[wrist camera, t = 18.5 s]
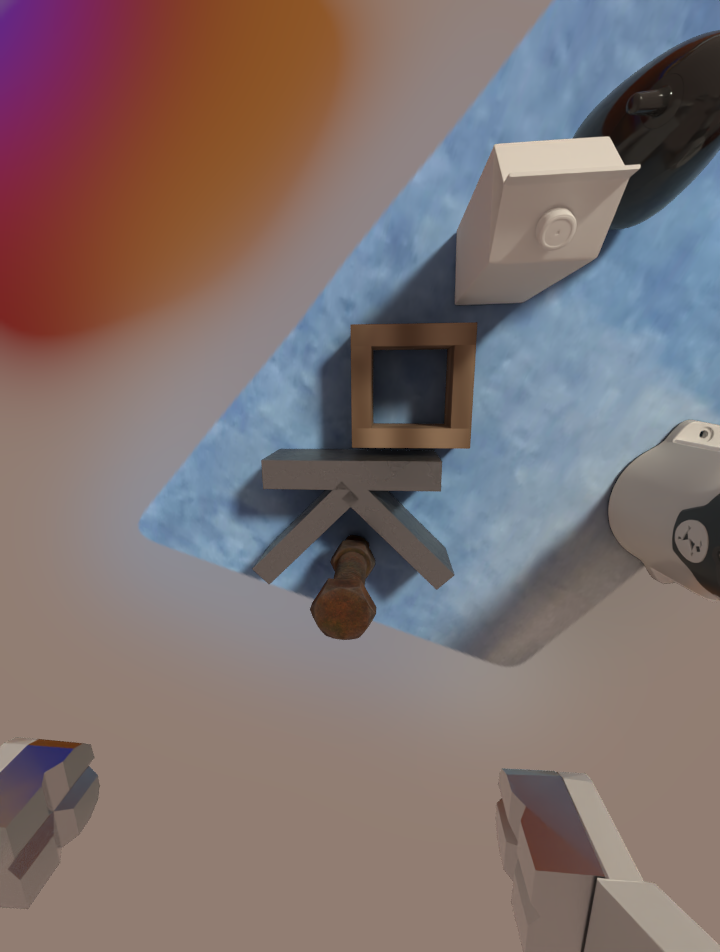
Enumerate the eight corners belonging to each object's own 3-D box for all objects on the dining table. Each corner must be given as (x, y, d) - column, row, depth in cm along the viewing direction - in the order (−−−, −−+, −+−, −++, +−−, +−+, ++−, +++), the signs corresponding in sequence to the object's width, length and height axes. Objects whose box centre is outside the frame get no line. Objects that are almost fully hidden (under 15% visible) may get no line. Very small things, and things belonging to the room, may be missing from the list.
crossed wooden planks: (450, 449, 45) (460, 461, 38) (444, 561, 48) (453, 590, 41) (265, 448, 47) (244, 459, 40) (271, 556, 50) (253, 583, 43)
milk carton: (456, 230, 40) (513, 100, 22) (528, 226, 39) (650, 89, 21) (454, 305, 42) (505, 244, 23) (523, 303, 41) (632, 238, 23)
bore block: (467, 329, 42) (477, 322, 37) (461, 441, 45) (469, 448, 40) (355, 331, 43) (350, 324, 38) (356, 440, 46) (351, 447, 41)
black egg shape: (537, 143, 38) (632, -10, 23) (653, 106, 36) (832, -81, 22) (553, 257, 40) (648, 183, 25) (662, 226, 39) (831, 128, 24)
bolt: (361, 573, 49) (349, 652, 35) (327, 552, 49) (300, 624, 35) (386, 537, 48) (385, 604, 34) (351, 515, 48) (334, 573, 33)
